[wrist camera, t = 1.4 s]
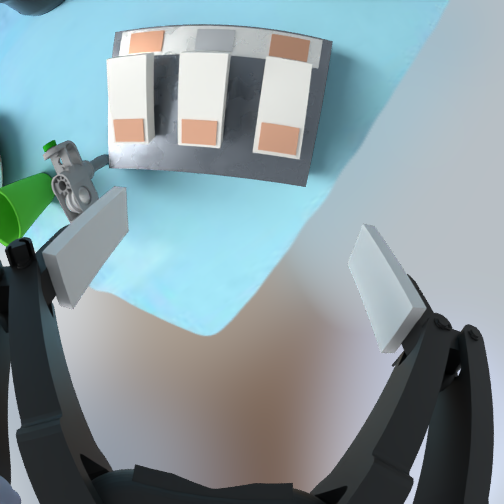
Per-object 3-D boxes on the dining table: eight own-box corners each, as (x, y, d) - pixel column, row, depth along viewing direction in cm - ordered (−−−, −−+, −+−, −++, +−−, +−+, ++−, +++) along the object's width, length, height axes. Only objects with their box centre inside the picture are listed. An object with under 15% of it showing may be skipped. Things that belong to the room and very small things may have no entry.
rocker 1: (116, 56, 18) (105, 59, 16) (154, 52, 18) (145, 54, 17) (120, 136, 24) (112, 144, 23) (155, 136, 25) (148, 144, 23)
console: (134, 38, 22) (110, 30, 17) (321, 48, 23) (335, 39, 18) (127, 156, 31) (104, 171, 26) (299, 173, 32) (307, 190, 27)
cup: (71, 207, 35) (30, 245, 26) (38, 216, 36) (-1, 251, 26) (55, 153, 30) (5, 181, 21) (22, 169, 31) (-23, 197, 22)
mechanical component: (98, 122, 28) (51, 139, 20) (126, 188, 33) (90, 223, 25) (82, 132, 29) (35, 152, 20) (111, 195, 34) (73, 230, 26)
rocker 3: (265, 62, 20) (266, 55, 19) (308, 69, 21) (312, 63, 19) (252, 152, 24) (252, 152, 22) (296, 159, 24) (299, 159, 22)
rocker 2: (185, 50, 18) (179, 52, 17) (231, 52, 18) (228, 53, 17) (182, 137, 25) (177, 145, 23) (222, 140, 25) (219, 149, 24)
